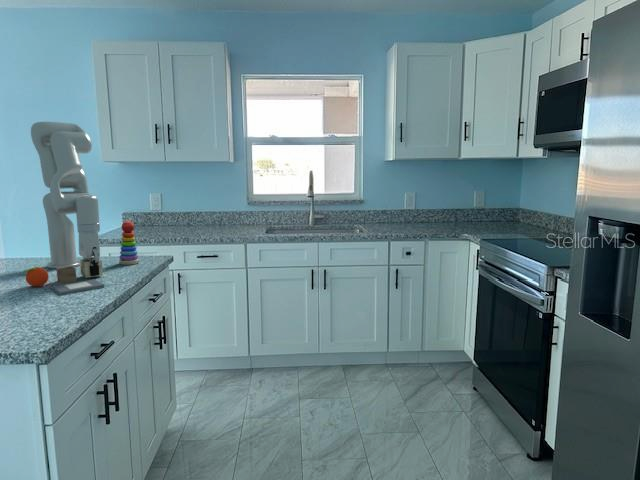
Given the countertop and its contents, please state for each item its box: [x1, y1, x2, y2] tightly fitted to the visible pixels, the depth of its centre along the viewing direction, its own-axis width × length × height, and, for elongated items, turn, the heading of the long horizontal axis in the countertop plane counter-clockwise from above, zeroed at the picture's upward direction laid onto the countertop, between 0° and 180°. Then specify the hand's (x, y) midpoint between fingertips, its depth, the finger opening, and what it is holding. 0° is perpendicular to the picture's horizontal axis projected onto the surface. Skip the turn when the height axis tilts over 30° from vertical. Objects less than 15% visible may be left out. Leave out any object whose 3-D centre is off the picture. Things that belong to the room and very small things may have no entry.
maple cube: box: [79, 258, 104, 279], centre depth 171 cm, size 6×6×6 cm
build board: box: [51, 279, 105, 296], centre depth 155 cm, size 10×14×1 cm
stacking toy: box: [118, 220, 140, 266], centre depth 194 cm, size 8×8×19 cm
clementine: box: [22, 266, 49, 288], centre depth 157 cm, size 8×7×7 cm
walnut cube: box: [56, 267, 78, 285], centre depth 164 cm, size 5×5×5 cm
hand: (91, 273), depth 171 cm, fingers closed on maple cube, 6 cm apart
